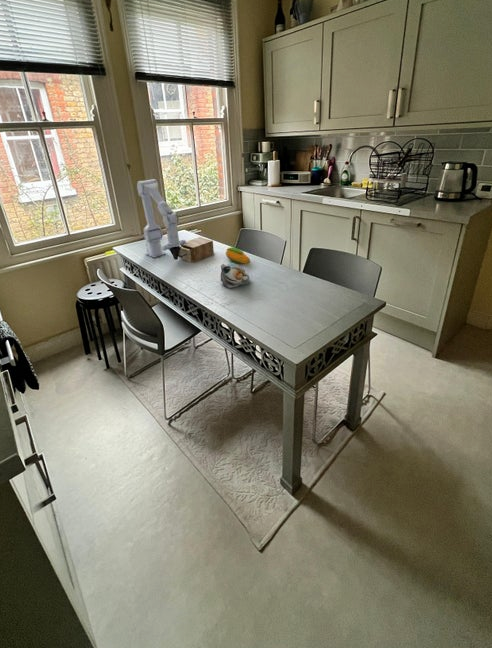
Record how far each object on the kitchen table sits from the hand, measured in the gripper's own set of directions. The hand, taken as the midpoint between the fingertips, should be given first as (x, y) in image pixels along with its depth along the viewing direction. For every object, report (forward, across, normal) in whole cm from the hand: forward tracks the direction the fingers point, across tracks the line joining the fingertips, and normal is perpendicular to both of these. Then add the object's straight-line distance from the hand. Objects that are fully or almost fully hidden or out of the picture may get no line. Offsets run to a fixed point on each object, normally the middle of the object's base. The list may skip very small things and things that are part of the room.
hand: (176, 259), depth 174 cm
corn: (+3, +24, -26) cm, 35 cm away
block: (+1, +10, 0) cm, 10 cm away
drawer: (+2, +10, 0) cm, 10 cm away
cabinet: (+3, +16, 0) cm, 16 cm away
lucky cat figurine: (+3, +3, -44) cm, 44 cm away
